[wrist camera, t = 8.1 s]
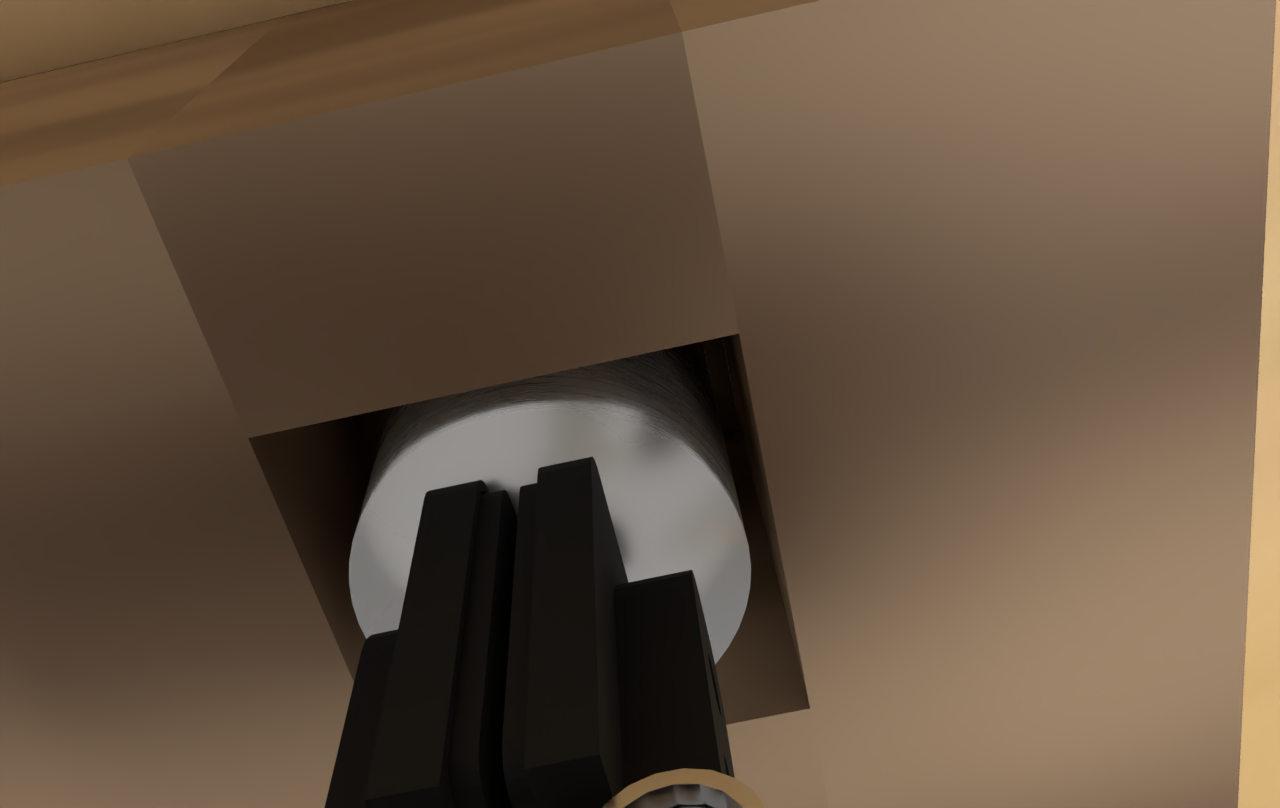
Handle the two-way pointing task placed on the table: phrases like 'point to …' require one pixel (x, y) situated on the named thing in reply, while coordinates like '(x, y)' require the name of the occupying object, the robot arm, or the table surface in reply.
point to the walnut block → (642, 323)
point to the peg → (560, 432)
